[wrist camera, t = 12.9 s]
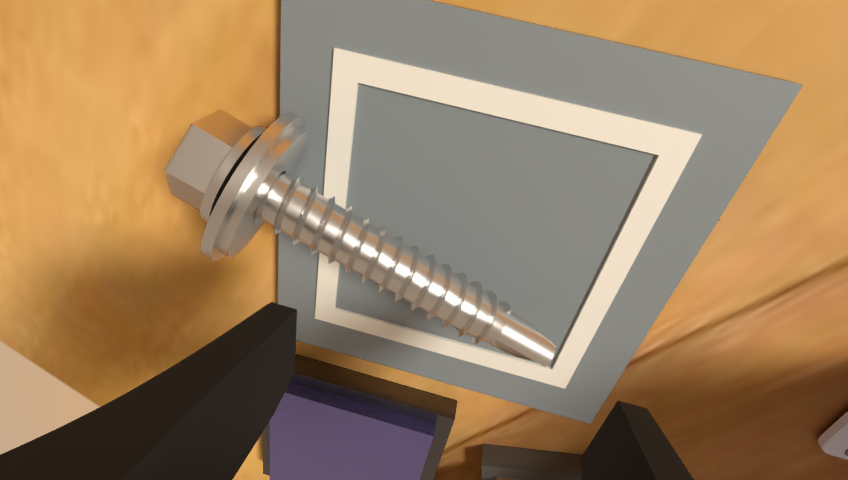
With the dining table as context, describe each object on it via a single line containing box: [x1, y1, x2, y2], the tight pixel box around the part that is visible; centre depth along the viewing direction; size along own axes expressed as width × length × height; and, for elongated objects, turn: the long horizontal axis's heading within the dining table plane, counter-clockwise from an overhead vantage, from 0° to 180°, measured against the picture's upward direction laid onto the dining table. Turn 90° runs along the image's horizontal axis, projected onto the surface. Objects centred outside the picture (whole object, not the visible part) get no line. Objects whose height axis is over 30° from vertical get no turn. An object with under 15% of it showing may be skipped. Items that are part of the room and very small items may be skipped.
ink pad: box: [263, 355, 457, 480], centre depth 22 cm, size 9×9×2 cm
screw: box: [164, 109, 556, 367], centre depth 13 cm, size 13×5×5 cm, turn 58°
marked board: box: [278, 0, 803, 424], centre depth 15 cm, size 14×14×1 cm
